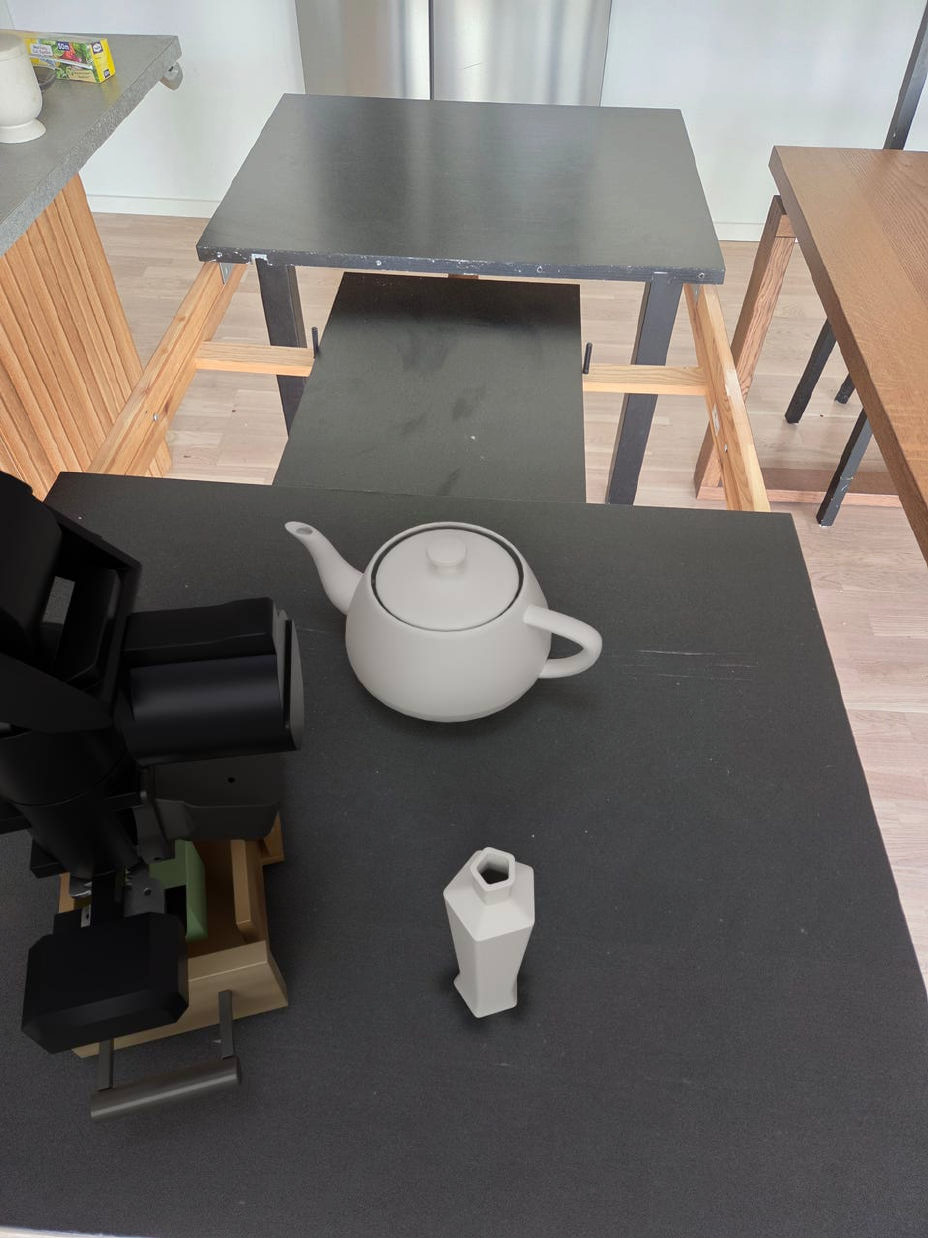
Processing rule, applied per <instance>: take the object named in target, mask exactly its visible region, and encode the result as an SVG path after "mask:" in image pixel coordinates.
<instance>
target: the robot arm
mask: <svg viewBox="0 0 928 1238" xmlns="http://www.w3.org/2000/svg"><path fill="white" fill-rule="evenodd" d="M143 568H144V567H143V564H142V563H141V562H140V561H139V560H137V559H136V558H134V557H133V556H131V555H130V554H128V553H126V552H125V551H123V550H122V549H120V548H118V547H116V546H114V545H113V544H111V543H109V541H107V540H105V539H103V536H102V535H100V534H98V533H96V532H93V531H91V530H89V529H87V528H85V526H83V525H81V524H79V523H78V522H76V521H75V520H73V519H71V518H69V517H68V516H66V515H65V514H63V513H62V512H60V511H59V510H56V508H53V507H52V506H50V505H49V504H48V503H45V502H44V501H42V500H40V499H39V498H38V497H36V496H35V495H34V490H33V488H32V485H30V484H29V483H27V482H25V481H23V480H22V479H19V478H18V477H17V476H14V475H13V474H11V473H8V472H6V471H3V470H1V469H0V836H1V835H6V834H10V833H15V832H20V831H25V830H26V831H27V832H28V834H29V835H30V836H31V838H32V840H31V848H30V849H31V850H30V859H29V871H30V872H31V873H32V874H33V875H34V876H35V878H36V879H37V880H40V879H45V878H48V877H49V878H50V877H53V876H57V875H59V874H63V873H68V872H69V873H70V875H69V889H68V893H69V895H70V896H71V897H72V898H73V899H78V898H83V897H87V896H89V895H91V904H90V905H89V906H86V907H84V908H80V909H75V910H71V911H66V912H62V913H59V912H57V913H55V914H54V915H53V927H52V933H50V934H45V935H43V936H41V937H40V938H39V939H38V940H37V941H36V942H35V943H34V944H33V945H32V946H31V947H29V948H28V952H27V953H28V954H27V963H26V973H25V984H24V994H23V1003H22V1004H23V1005H22V1012H21V1013H22V1014H21V1025H20V1031H21V1032H22V1033H23V1034H25V1035H26V1036H27V1037H28V1038H29V1039H30V1040H32V1041H33V1042H34V1043H36V1044H37V1045H38V1046H39V1047H41V1048H42V1049H43V1050H44V1051H46V1052H47V1053H48V1054H50V1055H55V1054H57V1053H63V1052H67V1051H72V1050H71V1049H75V1048H79V1047H83V1046H87V1045H91V1044H95V1043H99V1042H103V1041H107V1040H110V1039H114V1038H118V1037H122V1036H126V1035H130V1034H134V1033H138V1032H142V1031H146V1030H150V1029H154V1028H158V1027H162V1026H166V1025H170V1024H174V1023H177V1021H178V1020H179V1019H180V1017H181V1016H182V1015H183V1014H184V1012H185V1011H186V1010H187V1008H188V1007H189V980H188V948H187V943H186V938H185V937H186V935H187V898H186V885H181V886H177V887H172V888H168V889H165V887H164V886H163V884H162V882H161V881H160V880H158V879H157V878H152V877H150V864H152V863H157V862H161V861H166V860H170V859H175V840H180V839H181V840H184V841H189V842H196V841H218V840H244V841H258V840H261V839H263V838H265V837H266V836H268V835H269V833H270V832H271V830H272V828H273V825H274V822H275V819H276V816H277V813H278V810H279V811H280V807H281V804H282V801H283V797H284V795H285V790H286V786H285V785H286V784H285V776H284V767H283V761H282V760H283V759H282V753H287V752H295V751H297V752H298V751H301V749H302V746H303V742H304V733H305V703H304V702H305V700H304V699H305V698H304V683H303V672H302V671H303V670H302V663H301V653H300V647H299V640H298V636H297V631H296V626H295V621H294V618H290V619H289V618H288V615H287V613H286V611H285V610H284V609H283V608H280V609H279V608H278V609H277V607H276V604H275V600H274V599H273V598H271V597H269V596H263V597H261V596H260V597H252V598H242V599H234V600H231V601H227V602H223V603H220V604H213V605H204V606H203V605H202V606H192V607H191V606H190V607H181V608H179V607H178V608H170V609H169V608H167V609H156V610H145V607H144V605H143V603H142V601H141V599H140V596H139V591H140V586H141V581H142V575H143ZM56 577H57V578H59V579H64V580H67V581H70V582H73V587H72V592H71V594H70V600H69V602H68V606H67V609H66V614H65V618H64V621H63V623H60V622H55V621H54V622H53V621H47V620H46V621H44V618H45V615H46V611H47V607H48V604H49V601H50V597H51V593H52V591H53V587H54V584H55V581H56ZM126 870H127V871H128V872H129V873H127V874H126ZM59 876H60V875H59ZM126 878H127V879H130V880H129V881H127V882H126ZM90 879H92V880H90ZM91 886H92V888H89V887H91Z"/></svg>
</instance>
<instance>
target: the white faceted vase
mask: <svg viewBox="0 0 928 1238" xmlns="http://www.w3.org/2000/svg"><path fill="white" fill-rule="evenodd" d="M442 892H443V895H442V896H443V900H444V903H445V904H444V905H445V909H446V914H447V918H448V923H449V928H450V932H451V936H452V942H453V946H454V951H455V956H456V959H457V965H458V969H459V973H458V974H457V975H456V977H455V978H454V980H453V985H454V986H455V988H456V990H457V992H458V993H459V994H460V996H461V998H462V999H463V1000H464V1003H466V1005H467V1007H468V1009H469V1010H470V1011H471V1013H472V1014H473V1016H474V1017H475V1018H477V1019H480V1018H483V1017H486V1016H489V1015H493V1014H497V1013H500V1012H502V1011H506V1010H509V1009H512V1008H513V1009H514V1007H516V1006H517V1004H518V974H519V971H520V967H521V965H522V962H523V959H524V956H525V952H526V949H527V946H528V943H529V940H530V937H531V933H532V931H533V929H534V925H535V921H536V920H535V919H536V917H535V916H536V915H535V914H536V913H535V875H534V869H533V868H532V866H531V865H527V864H524V863H521V862H519V861H516V858H515V856H514V855H513V854H512V853H509V852H506V851H503V850H500V849H497V848H494V847H491V846H487V847H484V849H482V850H481V849H479V850H476V851H475V852H474V853H473V854H472V856H470V858H469V859H468V860H467V862H466V863H464V865H463V866H462V868H460V870H459V871H458V872H457V874H456V875H455V876H454V877H453V878H452V880H451V881H450V882H449V884H448V885H447V886H446V887H445V888H444V890H443V891H442Z"/></svg>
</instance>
